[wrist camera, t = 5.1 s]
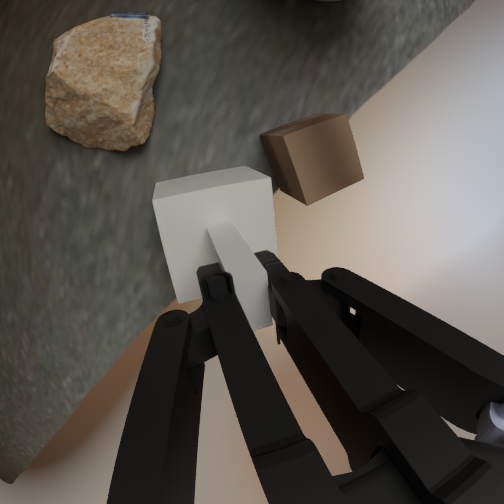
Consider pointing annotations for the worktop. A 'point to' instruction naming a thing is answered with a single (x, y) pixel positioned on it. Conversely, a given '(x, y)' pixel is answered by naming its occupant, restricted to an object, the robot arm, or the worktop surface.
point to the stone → (105, 81)
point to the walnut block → (313, 156)
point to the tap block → (211, 219)
